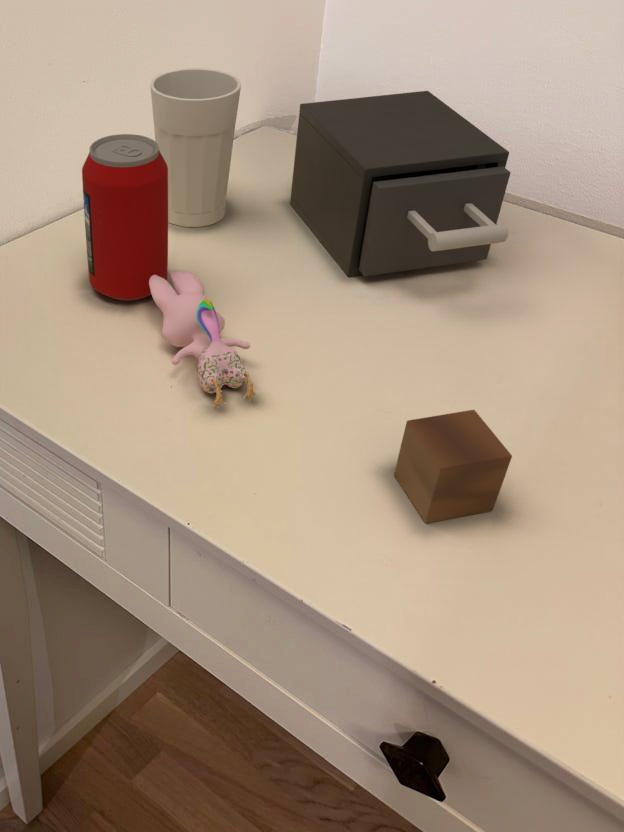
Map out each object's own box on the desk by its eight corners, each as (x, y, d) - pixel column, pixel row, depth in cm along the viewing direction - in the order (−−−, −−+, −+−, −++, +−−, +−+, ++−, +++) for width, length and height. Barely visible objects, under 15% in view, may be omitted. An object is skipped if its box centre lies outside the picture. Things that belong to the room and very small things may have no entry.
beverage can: (120, 258, 79) (115, 124, 71) (183, 280, 77) (185, 142, 68) (73, 291, 75) (62, 152, 67) (137, 315, 73) (134, 173, 64)
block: (457, 463, 59) (474, 408, 56) (493, 511, 55) (512, 455, 52) (393, 474, 58) (406, 420, 55) (425, 523, 55) (441, 468, 52)
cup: (147, 196, 89) (145, 70, 80) (225, 191, 89) (232, 66, 81) (156, 233, 83) (155, 102, 75) (240, 228, 83) (249, 97, 75)
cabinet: (481, 258, 78) (509, 152, 72) (347, 276, 77) (365, 168, 70) (408, 188, 89) (427, 90, 82) (289, 203, 87) (299, 103, 80)
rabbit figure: (271, 409, 65) (196, 283, 74) (284, 349, 61) (203, 222, 69) (192, 428, 64) (125, 297, 72) (199, 368, 59) (127, 236, 68)
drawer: (520, 291, 73) (549, 201, 67) (391, 310, 71) (410, 219, 66) (417, 192, 86) (433, 111, 81) (306, 206, 84) (316, 124, 79)
